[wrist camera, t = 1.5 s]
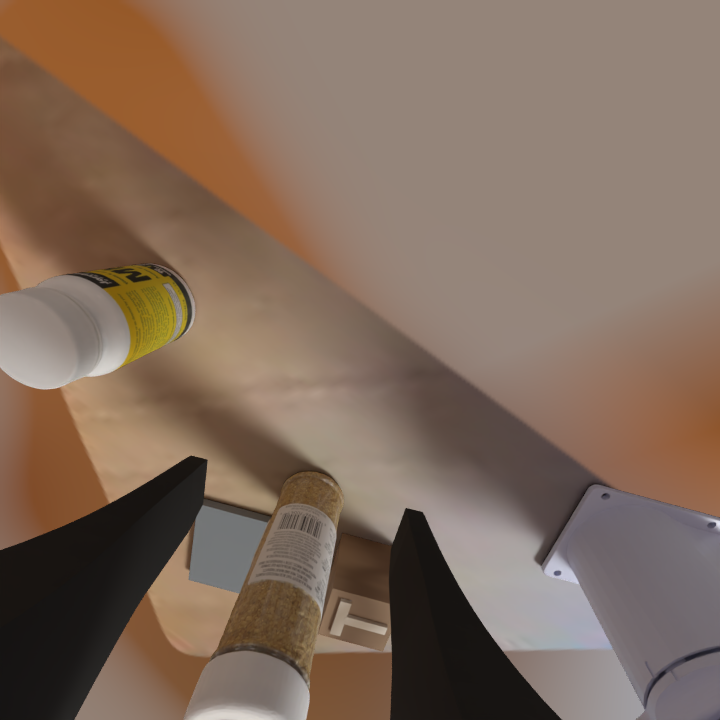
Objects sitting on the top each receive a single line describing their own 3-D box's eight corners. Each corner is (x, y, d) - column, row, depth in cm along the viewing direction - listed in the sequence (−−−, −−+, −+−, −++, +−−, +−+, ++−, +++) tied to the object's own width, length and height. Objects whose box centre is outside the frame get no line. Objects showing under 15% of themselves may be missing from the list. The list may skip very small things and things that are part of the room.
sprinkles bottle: (272, 502, 26) (161, 751, 14) (298, 457, 25) (200, 691, 12) (328, 529, 27) (269, 795, 14) (357, 486, 25) (320, 743, 13)
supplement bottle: (185, 257, 21) (58, 275, 13) (206, 336, 22) (105, 394, 15) (110, 267, 22) (-54, 290, 14) (136, 343, 23) (2, 403, 15)
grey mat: (305, 526, 27) (303, 532, 26) (286, 598, 30) (284, 605, 29) (201, 498, 27) (197, 503, 26) (192, 573, 30) (188, 579, 29)
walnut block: (400, 547, 27) (402, 610, 23) (384, 589, 29) (382, 654, 24) (342, 531, 27) (332, 591, 23) (329, 573, 29) (317, 637, 24)
